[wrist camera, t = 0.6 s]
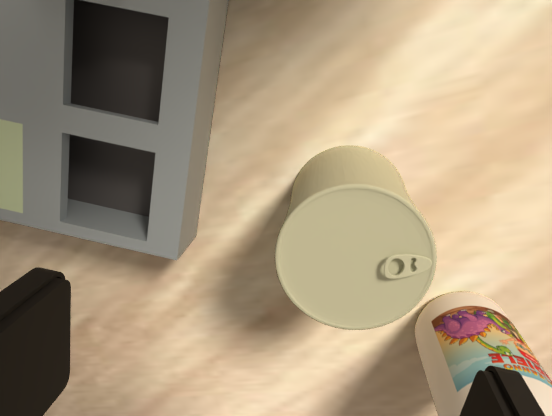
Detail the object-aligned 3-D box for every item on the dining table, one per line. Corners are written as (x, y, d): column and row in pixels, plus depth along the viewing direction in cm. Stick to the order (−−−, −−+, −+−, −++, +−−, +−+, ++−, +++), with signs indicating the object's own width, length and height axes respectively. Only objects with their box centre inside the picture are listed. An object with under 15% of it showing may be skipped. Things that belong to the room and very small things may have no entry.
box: (-59, -165, 31) (-129, -205, 26) (243, -111, 30) (227, -143, 25) (-40, 183, 40) (-90, 199, 35) (195, 236, 39) (176, 260, 34)
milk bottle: (481, 376, 40) (617, 663, 21) (399, 348, 40) (459, 608, 21) (523, 305, 37) (721, 559, 18) (435, 275, 37) (540, 497, 18)
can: (402, 254, 37) (433, 339, 26) (292, 252, 38) (275, 333, 27) (409, 144, 34) (447, 185, 23) (289, 145, 35) (269, 185, 24)
